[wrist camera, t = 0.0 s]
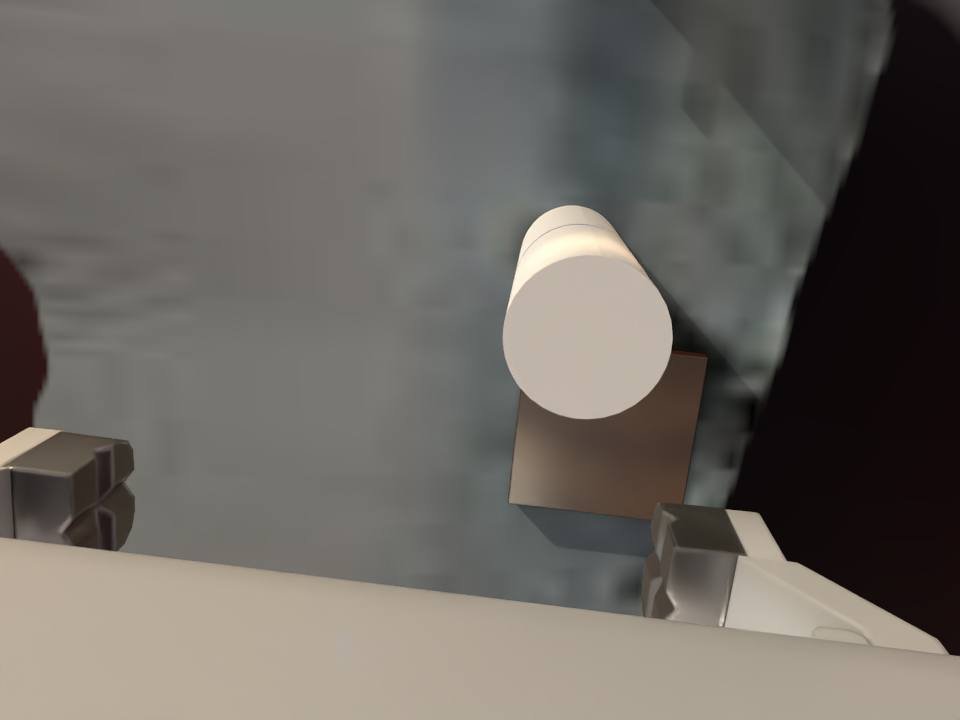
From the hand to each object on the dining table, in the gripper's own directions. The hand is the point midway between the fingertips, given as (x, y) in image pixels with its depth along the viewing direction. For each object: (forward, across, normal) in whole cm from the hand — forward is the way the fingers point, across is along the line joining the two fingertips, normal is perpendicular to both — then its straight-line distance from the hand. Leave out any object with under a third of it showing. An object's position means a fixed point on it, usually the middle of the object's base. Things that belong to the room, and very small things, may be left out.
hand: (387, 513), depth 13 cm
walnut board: (+48, -8, +15) cm, 51 cm away
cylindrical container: (+48, -4, +2) cm, 48 cm away
